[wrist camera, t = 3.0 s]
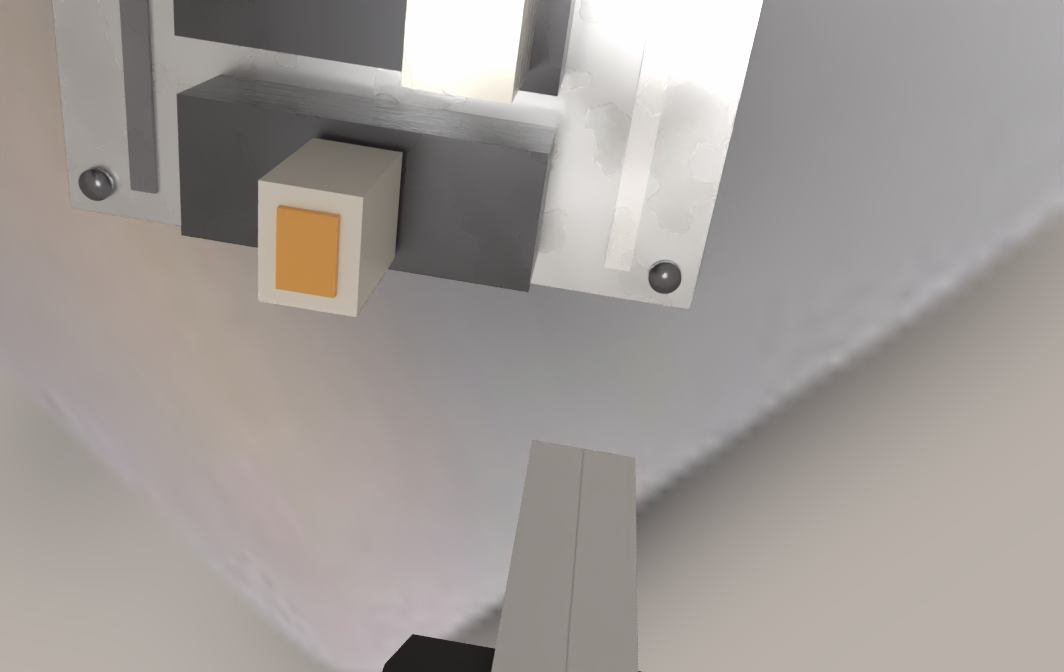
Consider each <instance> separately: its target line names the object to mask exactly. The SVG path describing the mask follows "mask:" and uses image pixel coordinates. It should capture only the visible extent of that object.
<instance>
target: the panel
mask: <svg viewBox="0 0 1064 672" xmlns="http://www.w3.org/2000/svg"><path fill="white" fill-rule="evenodd" d="M762 2H763V0H52V7H53V18H54V29H55V40H56V51H57V62H58V73H59V84H60V95H61V106H62V116H63V127H64V138H65V149H66V160H67V171H68V182H69V193H70V204H71V208H74V209H80V210H87V211H93V212H99V213H105V214H111V215H117V216H123V217H129V218H135V219H141V220H147V221H154V222H160V223H166V224H172V225H178V226H181V233H182V235H184V236H190V237H196V238H202V239H208V240H215V241H221V242H227V243H233V244H239V245H245V246H251V247H257V248H258V180H259V179H261V178H262V177H263V176H264V175H266V174H267V173H268V172H270V171H271V170H272V169H273V168H275V167H276V166H277V165H279V164H280V163H281V162H282V161H284V160H285V159H286V158H288V157H289V156H290V155H292V154H293V153H294V152H295V151H297V150H298V149H299V148H301V147H302V146H303V145H304V144H306V143H307V142H308V141H310V140H311V139H312V138H317V139H323V140H330V141H336V142H342V143H348V144H354V145H361V146H367V147H373V148H379V149H385V150H392V151H398V152H403V154H402V167H401V180H400V193H399V207H398V220H397V233H396V246H395V258H394V260H393V261H392V263H391V264H390V266H389V267H388V269H391V270H397V271H403V272H409V273H415V274H421V275H427V276H433V277H440V278H446V279H452V280H458V281H464V282H470V283H476V284H482V285H488V286H494V287H500V288H506V289H513V290H519V291H525V292H528V291H529V287H530V283H531V284H537V285H543V286H549V287H555V288H562V289H568V290H574V291H580V292H586V293H592V294H598V295H604V296H610V297H616V298H622V299H629V300H635V301H641V302H647V303H653V304H659V305H665V306H671V307H677V308H683V309H689V310H690V306H691V302H692V298H693V294H694V289H695V285H696V281H697V277H698V272H699V268H700V264H701V260H702V255H703V251H704V247H705V243H706V239H707V234H708V230H709V226H710V222H711V217H712V213H713V209H714V205H715V201H716V196H717V192H718V188H719V184H720V179H721V175H722V171H723V167H724V163H725V158H726V154H727V150H728V146H729V141H730V137H731V133H732V129H733V125H734V120H735V116H736V112H737V108H738V103H739V99H740V95H741V91H742V87H743V82H744V78H745V74H746V70H747V65H748V61H749V57H750V53H751V49H752V44H753V40H754V36H755V32H756V27H757V23H758V19H759V15H760V11H761V6H762Z"/></svg>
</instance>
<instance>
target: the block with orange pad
mask: <svg viewBox="0 0 1064 672" xmlns="http://www.w3.org/2000/svg"><path fill="white" fill-rule="evenodd" d="M402 154H403V152H398V151H392V150H385V149H379V148H373V147H367V146H361V145H354V144H348V143H342V142H336V141H330V140H323V139H317V138H312V139H311V140H310V141H308V142H307V143H306V144H304V145H303V146H302V147H301V148H299V149H298V150H297V151H295V152H294V153H293V154H292V155H290V156H289V157H288V158H286V159H285V160H284V161H282V162H281V163H280V164H279V165H277V166H276V167H275V168H273V169H272V170H271V171H270V172H268V173H267V174H266V175H264V176H263V177H262V178H261V179H259V180H258V301H260V302H266V303H272V304H278V305H284V306H290V307H296V308H302V309H308V310H314V311H320V312H326V313H332V314H338V315H344V316H350V317H357V316H358V314H359V313H360V311H361V310H362V308H363V306H364V305H365V303H366V302H367V300H368V299H369V297H370V295H371V294H372V292H373V291H374V289H375V288H376V286H377V285H378V283H379V281H380V280H381V278H382V277H383V275H384V274H385V272H386V270H387V269H388V267H389V266H390V264H391V263H392V261H393V260H394V258H395V246H396V233H397V220H398V207H399V193H400V180H401V167H402Z"/></svg>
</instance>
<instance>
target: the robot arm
mask: <svg viewBox="0 0 1064 672" xmlns="http://www.w3.org/2000/svg"><path fill="white" fill-rule="evenodd" d="M636 559H637V556H636V477H635V458H634V457H628V456H622V455H616V454H610V453H605V452H599V451H593V450H587V449H581V448H575V447H569V446H563V445H557V444H552V443H546V442H540V441H534V440H532V446H531V451H530V457H529V463H528V468H527V474H526V479H525V485H524V491H523V496H522V502H521V508H520V513H519V519H518V525H517V530H516V536H515V541H514V547H513V553H512V558H511V564H510V570H509V575H508V581H507V586H506V592H505V598H504V603H503V609H502V615H501V620H500V627H499V631H498V637H497V643H496V648H495V649H493V648H488V647H482V646H476V645H471V644H465V643H460V642H454V641H448V640H443V639H437V638H431V637H425V636H420V635H414V634H412V636H411V637H410V638H409V639H408V640H407V641H406V642H405V643H404V644H403V645H402V646H401V647H400V648H399V650H398V651H397V652H396V653H395V654H394V655H393V656H392V657H391V658H390V659H389V660H388V661H387V662H386V664H385V665H384V668H383V671H382V672H640V671H638V634H637V563H636V561H637V560H636Z"/></svg>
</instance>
